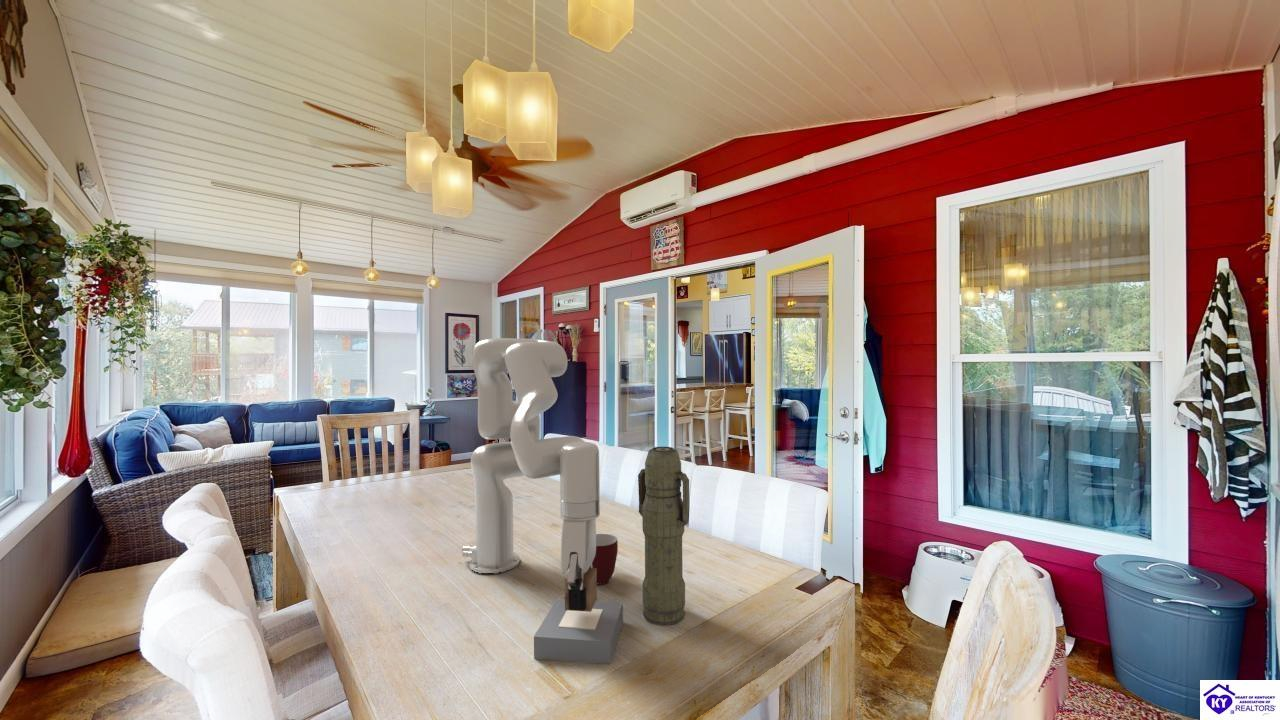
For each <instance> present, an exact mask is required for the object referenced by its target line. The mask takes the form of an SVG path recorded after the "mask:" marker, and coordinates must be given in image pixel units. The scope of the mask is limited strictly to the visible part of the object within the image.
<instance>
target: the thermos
mask: <svg viewBox="0 0 1280 720" xmlns="http://www.w3.org/2000/svg"><path fill="white" fill-rule="evenodd" d="M680 457H681V456H680V454H679V452H678V450H677V449H675V448H674V447H671V446H655V447H654V446H653V447H652V448H650V449H649V450H648V452H647V455H646V457H645V460H644V468H642V469H641V470H640V471H639V473H638V475H637V479H638V480H637V485H638V513H639V514H640V516H641V517H642V518H641V519H642V520H641V521H642V522H641V523H642V526H641V527H642V533H643V535H644V579H643V581H642V605H643V613H642V614H643V617H644V619H645V620H646V622H649V623H651V624H653V625H656V626H672V625H676V624H679V623H680V622H682V621H683V620H684V619H685V604H686V582H685V580H684V576H683V536H684V533H685V526H687V525H688V524H689V521H690V479H689V477H688V476H687V474H686V473H684V472H683V471H682V461H681V458H680ZM681 487H682V491H681Z"/></svg>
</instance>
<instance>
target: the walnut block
mask: <svg viewBox="0 0 1280 720" xmlns="http://www.w3.org/2000/svg"><path fill="white" fill-rule="evenodd" d="M581 570H582V568H577V571H581ZM568 573H569V571H567V574H566V576H565V577H564V599H565V610H570V609H569V589H568V581H567V579H568ZM576 577H577V579H579V580H580V578H581V575H576ZM584 588H586V609H585V610H570V611H587V612H591V611H592V608H593V606H594V604H595V602H596V601H597V599H598V592H597V590H598V589H597V588H598V584H597V570H596V568H589V569H588V571H587V572H586V573H585V580H584Z"/></svg>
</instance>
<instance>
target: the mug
mask: <svg viewBox="0 0 1280 720" xmlns="http://www.w3.org/2000/svg"><path fill="white" fill-rule="evenodd" d="M618 544H619V543H618V538H617V537H616V536H615V535H613V534H607V533H596V555H595V558H594V560H593V562H592V568H596V570H597V585H605V584H607V583H609V582H610V581H611V579H612V577H613V575H614V572H615V569H616V562H617V558H618V551H619V549H618V547H619V546H618Z"/></svg>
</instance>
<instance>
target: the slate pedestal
mask: <svg viewBox="0 0 1280 720" xmlns="http://www.w3.org/2000/svg"><path fill="white" fill-rule="evenodd" d="M623 625H624V602H617V601H599V600H596V602H595V604H594V606H593V608H592V611H591V612H587V611H570V610H565V598H556V599H555V601H554V603H553V604H552V606H551V607H550V609H549V610H548V612H547V614H546V615H545V617H544V619H543V620H542V622H541V624H540V626H539V627H538V628H537V630H536V632H535V633H534V636H533V659H534V658H536V659H537V660H546V659H550V661H560V662H561V661H562V662H564V661H565V662H577V663H589V664H600V665H601V664H603V665H604V664H605V665H610V664H612V659H613V656H614V653H615V651H616V646H617V644H618V640H619V637H620V634H621V630H622V627H623ZM539 658H541V659H539ZM536 659H535V660H536ZM551 659H552V660H551Z"/></svg>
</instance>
